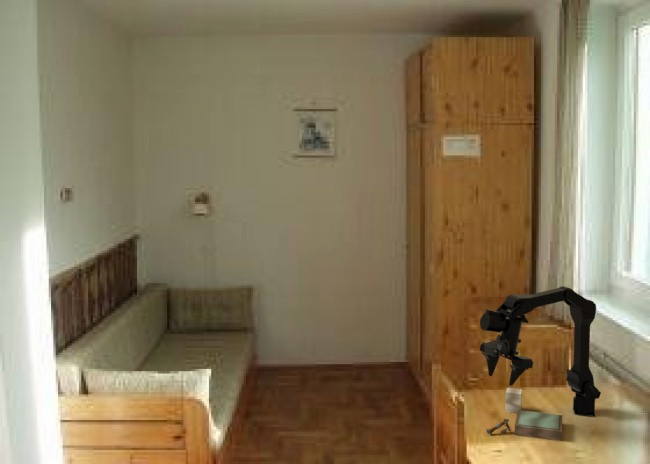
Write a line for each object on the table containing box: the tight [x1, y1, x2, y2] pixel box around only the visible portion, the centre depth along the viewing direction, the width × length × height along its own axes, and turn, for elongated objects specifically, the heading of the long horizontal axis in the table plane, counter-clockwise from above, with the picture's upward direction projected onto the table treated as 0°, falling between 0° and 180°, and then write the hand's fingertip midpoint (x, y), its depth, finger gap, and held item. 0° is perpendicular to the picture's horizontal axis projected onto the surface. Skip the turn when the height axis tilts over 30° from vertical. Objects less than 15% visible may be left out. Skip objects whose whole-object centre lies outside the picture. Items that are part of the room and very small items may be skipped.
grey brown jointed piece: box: [485, 418, 512, 436], centre depth 217 cm, size 2×8×4 cm, turn 105°
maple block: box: [504, 387, 523, 415], centre depth 235 cm, size 5×5×7 cm
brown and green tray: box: [513, 409, 563, 442], centre depth 219 cm, size 14×14×3 cm
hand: (500, 380), depth 223 cm, fingers open, 9 cm apart
